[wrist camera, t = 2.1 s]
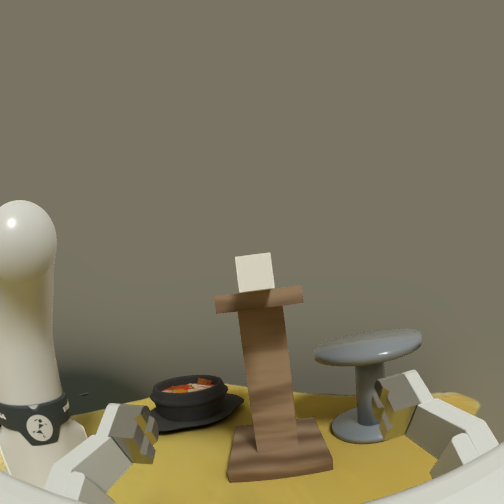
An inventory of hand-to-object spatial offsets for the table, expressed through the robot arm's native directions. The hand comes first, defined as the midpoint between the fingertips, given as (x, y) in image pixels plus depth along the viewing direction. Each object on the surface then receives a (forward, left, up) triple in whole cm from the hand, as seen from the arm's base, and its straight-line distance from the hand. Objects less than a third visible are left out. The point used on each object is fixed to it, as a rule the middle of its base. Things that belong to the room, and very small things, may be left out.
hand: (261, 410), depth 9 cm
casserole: (-47, +29, -22) cm, 59 cm away
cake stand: (-11, +39, -22) cm, 46 cm away
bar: (-18, +21, +4) cm, 28 cm away
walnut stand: (-21, +26, -22) cm, 40 cm away
